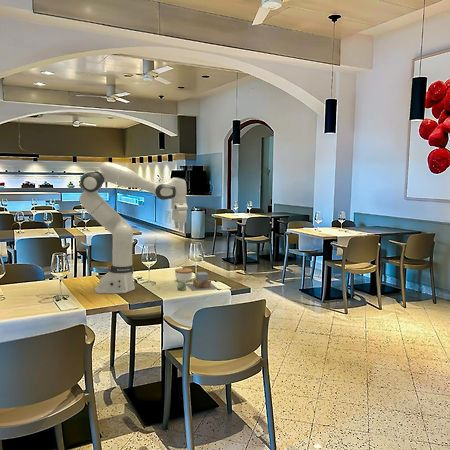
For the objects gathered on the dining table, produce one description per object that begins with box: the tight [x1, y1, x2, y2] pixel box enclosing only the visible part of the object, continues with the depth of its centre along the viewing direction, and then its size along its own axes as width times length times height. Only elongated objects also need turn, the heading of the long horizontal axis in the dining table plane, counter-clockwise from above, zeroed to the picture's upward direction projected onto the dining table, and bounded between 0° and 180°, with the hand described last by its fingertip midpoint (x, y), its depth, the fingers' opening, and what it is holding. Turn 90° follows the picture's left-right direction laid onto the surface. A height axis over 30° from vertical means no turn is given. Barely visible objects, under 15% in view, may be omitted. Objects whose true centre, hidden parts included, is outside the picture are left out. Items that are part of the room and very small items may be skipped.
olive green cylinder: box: [177, 281, 187, 292], centre depth 248 cm, size 5×5×5 cm
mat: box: [186, 282, 219, 292], centre depth 256 cm, size 16×16×1 cm
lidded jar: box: [174, 266, 193, 283], centre depth 268 cm, size 11×11×9 cm
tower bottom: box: [192, 278, 211, 289], centre depth 256 cm, size 8×8×4 cm
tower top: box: [194, 271, 209, 282], centre depth 255 cm, size 6×6×4 cm
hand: (178, 229), depth 250 cm, fingers open, 8 cm apart
